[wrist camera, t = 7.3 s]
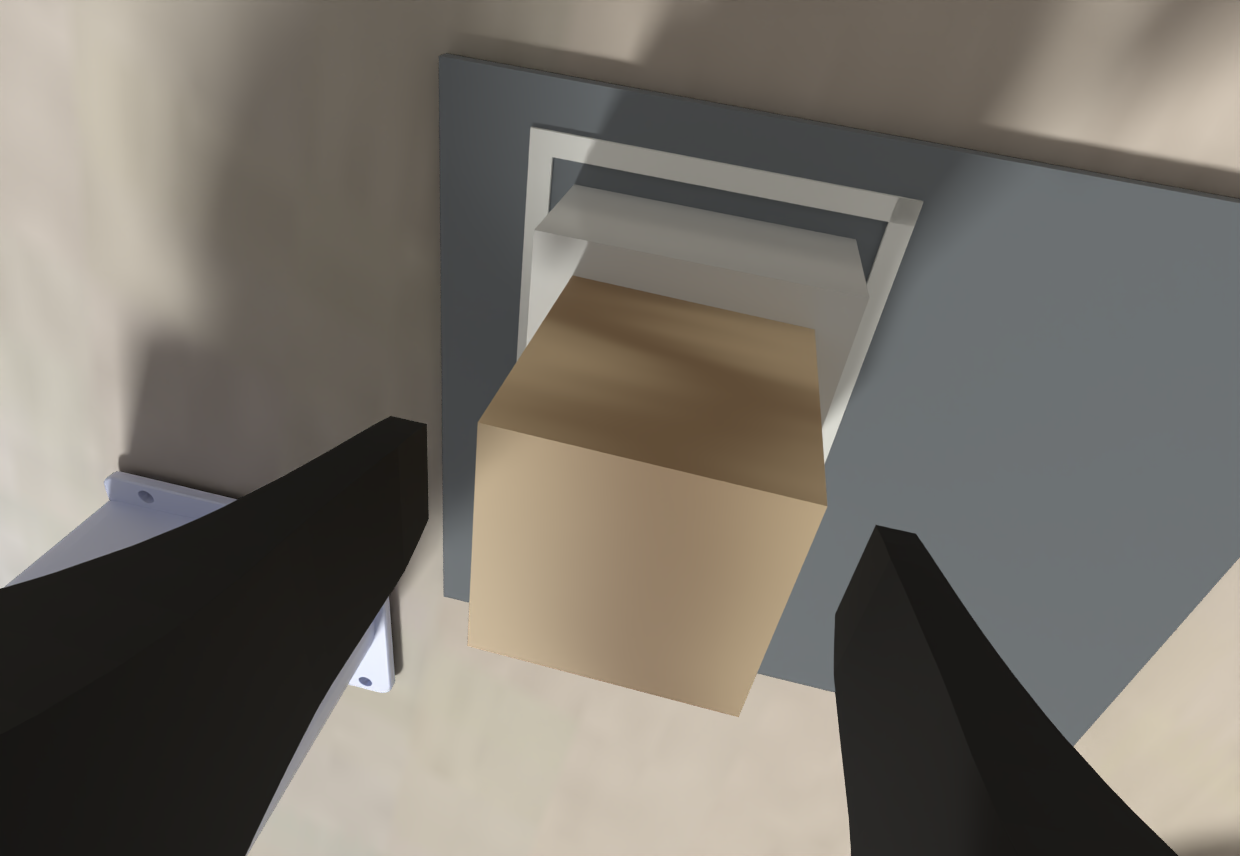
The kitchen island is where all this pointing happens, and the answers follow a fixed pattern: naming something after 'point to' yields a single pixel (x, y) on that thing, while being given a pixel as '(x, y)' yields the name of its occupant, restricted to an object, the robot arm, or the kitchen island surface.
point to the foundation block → (705, 266)
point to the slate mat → (911, 358)
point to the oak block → (647, 493)
